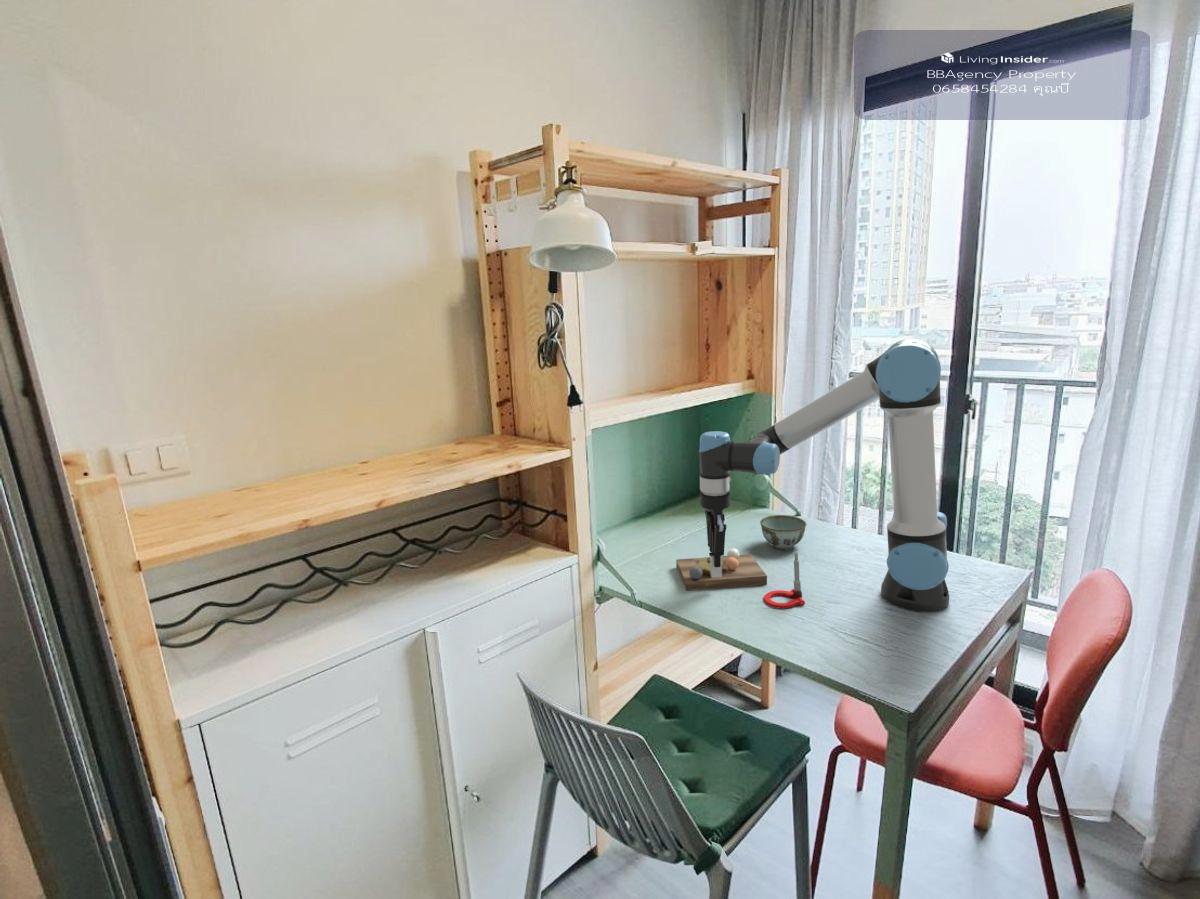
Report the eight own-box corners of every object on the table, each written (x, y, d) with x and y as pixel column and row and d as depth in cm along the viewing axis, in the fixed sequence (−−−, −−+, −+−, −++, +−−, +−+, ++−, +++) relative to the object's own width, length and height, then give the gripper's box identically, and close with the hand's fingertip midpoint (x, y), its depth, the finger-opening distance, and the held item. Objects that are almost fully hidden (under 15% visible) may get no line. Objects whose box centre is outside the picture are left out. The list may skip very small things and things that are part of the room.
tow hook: (769, 611, 150) (806, 607, 150) (767, 563, 147) (805, 559, 147) (760, 596, 158) (795, 592, 158) (757, 550, 155) (793, 546, 155)
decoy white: (741, 562, 172) (741, 550, 171) (729, 563, 171) (728, 551, 171) (737, 557, 175) (737, 546, 174) (725, 558, 175) (725, 547, 174)
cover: (725, 574, 164) (725, 562, 163) (701, 575, 164) (701, 563, 163) (719, 564, 170) (719, 553, 169) (696, 566, 170) (696, 554, 169)
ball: (740, 571, 166) (740, 559, 165) (727, 572, 166) (727, 560, 165) (736, 566, 169) (736, 554, 168) (724, 567, 169) (724, 555, 168)
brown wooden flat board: (766, 584, 163) (766, 575, 162) (686, 590, 162) (686, 581, 161) (750, 561, 177) (750, 554, 177) (676, 567, 177) (676, 559, 176)
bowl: (795, 537, 194) (796, 513, 192) (813, 553, 181) (813, 528, 179) (754, 540, 193) (754, 516, 192) (768, 556, 180) (768, 531, 178)
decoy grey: (703, 581, 161) (703, 568, 161) (690, 582, 161) (690, 569, 160) (701, 575, 165) (700, 563, 164) (688, 576, 165) (688, 564, 164)
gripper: (736, 498, 149) (736, 585, 154) (722, 483, 162) (723, 565, 167) (706, 500, 149) (707, 588, 154) (695, 485, 161) (696, 567, 167)
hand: (716, 576), depth 161 cm, fingers closed
